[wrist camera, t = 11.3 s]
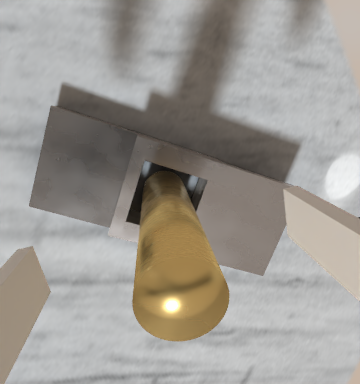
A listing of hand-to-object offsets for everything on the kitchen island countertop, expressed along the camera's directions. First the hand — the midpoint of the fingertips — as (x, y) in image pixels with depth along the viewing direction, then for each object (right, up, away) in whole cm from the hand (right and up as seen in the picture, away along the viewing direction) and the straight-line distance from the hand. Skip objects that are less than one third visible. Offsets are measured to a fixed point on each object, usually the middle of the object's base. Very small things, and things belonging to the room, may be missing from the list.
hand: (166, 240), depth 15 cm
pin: (-1, +3, +10) cm, 10 cm away
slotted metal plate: (-1, +3, +10) cm, 10 cm away
